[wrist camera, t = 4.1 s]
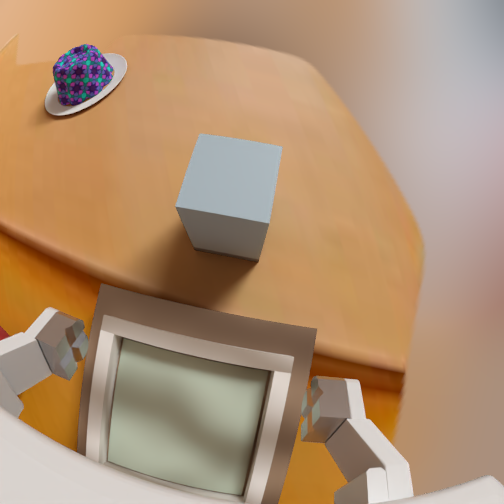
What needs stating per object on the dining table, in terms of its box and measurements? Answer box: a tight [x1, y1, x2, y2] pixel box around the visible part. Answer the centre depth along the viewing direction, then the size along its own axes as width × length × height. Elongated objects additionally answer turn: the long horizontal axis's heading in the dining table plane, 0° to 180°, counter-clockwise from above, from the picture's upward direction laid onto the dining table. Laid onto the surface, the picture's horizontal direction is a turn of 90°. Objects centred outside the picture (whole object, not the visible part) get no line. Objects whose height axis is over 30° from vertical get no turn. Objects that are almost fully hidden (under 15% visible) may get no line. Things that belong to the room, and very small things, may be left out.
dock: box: [77, 283, 317, 504], centre depth 17 cm, size 16×15×4 cm
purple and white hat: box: [45, 44, 127, 116], centre depth 26 cm, size 12×12×5 cm
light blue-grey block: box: [175, 134, 282, 262], centre depth 20 cm, size 5×5×8 cm
